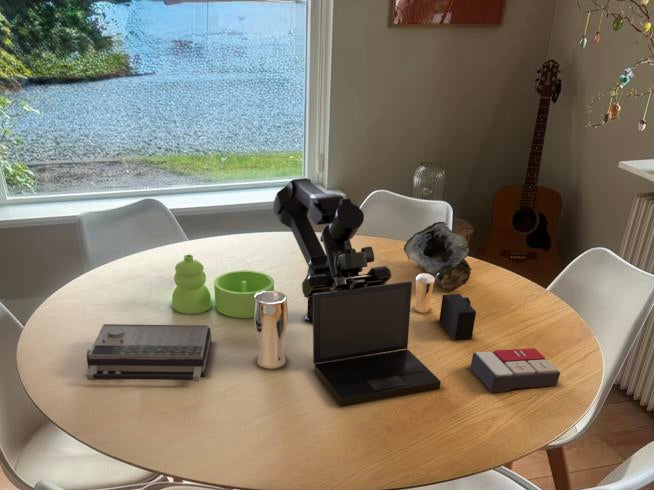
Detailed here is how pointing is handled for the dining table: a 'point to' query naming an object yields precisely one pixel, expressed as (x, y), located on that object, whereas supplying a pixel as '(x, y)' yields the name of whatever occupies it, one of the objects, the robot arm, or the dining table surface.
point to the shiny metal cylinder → (423, 292)
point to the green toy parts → (217, 290)
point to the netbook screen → (361, 321)
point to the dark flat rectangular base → (376, 377)
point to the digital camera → (457, 316)
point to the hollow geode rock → (441, 255)
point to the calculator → (514, 369)
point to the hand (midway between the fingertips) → (356, 319)
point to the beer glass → (270, 327)
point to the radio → (150, 352)
